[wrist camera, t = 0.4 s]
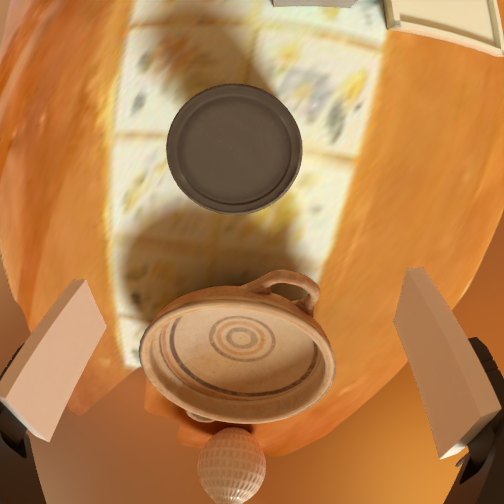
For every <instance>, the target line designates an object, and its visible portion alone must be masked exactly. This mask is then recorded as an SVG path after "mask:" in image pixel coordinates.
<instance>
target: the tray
mask: <svg viewBox="0 0 504 504" xmlns="http://www.w3.org/2000/svg"><path fill="white" fill-rule="evenodd" d="M383 3H384V10H385V16H386V23H387V30H393V31H399V32H405V33H411V34H416V35H421V36H426V37H430V38H435V39H439V40H443V41H447V42H451V43H454V44H458V45H462V46H465V47H468V48H472V49H475V50H478V51H481V52H484V53H487V54H490V55H492V56H504V39H503V32H502V26H501V20H500V15H499V10H498V5H497V1H496V0H383Z"/></svg>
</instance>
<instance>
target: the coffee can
mask: <svg viewBox="0 0 504 504" xmlns="http://www.w3.org/2000/svg"><path fill="white" fill-rule="evenodd" d="M166 152H167V160H168V165H169V168H170V171H171V174H172V176H173V178H174V180H175V182H176V183H177V185H178V186H179V188H180V189H181V190H182V191H183V192H184V193H185V194H186V195H187V196H188V197H189V198H190V199H191V200H192V201H194V202H195V203H197V204H198V205H200V206H202V207H204V208H206V209H208V210H211V211H214V212H217V213H222V214H229V215H241V214H248V213H253V212H256V211H259V210H262V209H264V208H266V207H268V206H270V205H271V204H273V203H275V202H276V201H277V200H279V199H280V198H281V197H282V196H283V195H284V194H285V193H286V192H287V191H288V189H289V188H290V187H291V185H292V184H293V182H294V180H295V179H296V177H297V175H298V172H299V169H300V166H301V161H302V139H301V135H300V131H299V128H298V126H297V124H296V121H295V120H294V118H293V116H292V115H291V113H290V112H289V110H288V109H287V108H286V107H285V106H284V105H283V104H282V103H281V102H280V101H279V100H278V99H277V98H275V97H274V96H272V95H271V94H269V93H268V92H266V91H264V90H262V89H259V88H256V87H253V86H249V85H243V84H224V85H218V86H214V87H211V88H209V89H206V90H204V91H202V92H200V93H198V94H197V95H195V96H194V97H192V98H191V99H190V100H189V101H187V102H186V103H185V104H184V105H183V106H182V108H181V109H180V110H179V112H178V113H177V114H176V116H175V118H174V120H173V122H172V124H171V127H170V130H169V133H168V137H167V144H166Z"/></svg>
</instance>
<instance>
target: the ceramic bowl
mask: <svg viewBox="0 0 504 504" xmlns="http://www.w3.org/2000/svg"><path fill="white" fill-rule="evenodd" d="M276 283H288V284H293V285H297V286H300V287H302V288H303V289H305V290H306V291H307V292H308V293H309V294H308V295H307V296H306V297H304V298H302V299H298V300H294V301H290V300H288V299H286V298H284V297H282V296H280V295H277V294H274V293H271V290H270V286H271V285H273V284H276ZM319 297H320V288H319V286H318V285H317V284H316V283H315V282H314V281H312V280H311V279H310V278H308V277H307V276H305V275H303V274H300V273H297V272H293V271H289V270H284V269H279V270H274V271H271V272H269V273H266V274H265V275H263V276H262V277H260V278H258V279H256V280H254V281H252V282H249V283H247V284H244V285H242V286H217V287H209V288H205V289H201V290H197V291H193V292H190V293H188V294H186V295H183V296H181V297H179V298H177V299H175V300H174V301H173V302H171V303H170V304H168V305H167V306H165V307H164V308H163V309H162V310H161V311H160V312H159V313H158V314H157V315H156V316H155V318H154V319H153V320H152V321H151V323H150V325H149V326H148V328H147V329H146V330H145V332H144V334H143V336H142V338H141V341H140V347H139V357H140V363H141V366H142V368H143V371H144V373H145V375H146V376H147V378H148V379H149V381H150V382H151V384H152V385H153V386H154V387H155V388H156V389H157V390H158V391H159V392H160V393H161V394H162V395H164V396H165V397H166V398H167V399H168V400H170V401H172V402H173V403H175V404H176V405H178V406H179V407H181V408H183V409H185V411H186V413H187V415H188V416H190V417H191V418H193V419H194V420H196V421H199V422H213V421H215V420H217V421H223V422H229V423H241V424H255V423H266V422H273V421H277V420H282V419H285V418H288V417H291V416H294V415H297V414H299V413H301V412H303V411H305V410H307V409H309V408H310V407H311V406H313V405H314V404H316V403H317V402H318V401H319V400H320V399H321V398H322V397H323V396H324V395H325V394H326V393H327V392H328V390H329V389H330V387H331V385H332V383H333V380H334V378H335V375H336V361H335V357H334V353H333V351H332V349H331V346H330V342H329V340H328V338H327V336H326V334H325V333H324V331H323V329H322V328H321V326H320V325H319V324H318V323H317V322H316V320H315V319H314V318H313V309H314V305H315V304H316V302H317V301H318V299H319Z"/></svg>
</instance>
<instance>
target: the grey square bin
mask: <svg viewBox="0 0 504 504" xmlns="http://www.w3.org/2000/svg"><path fill="white" fill-rule="evenodd" d="M356 1H357V0H273V6H274V7H283V6H322V7H342V8H351V7H352V5H353V4H354V3H355V2H356Z"/></svg>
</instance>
